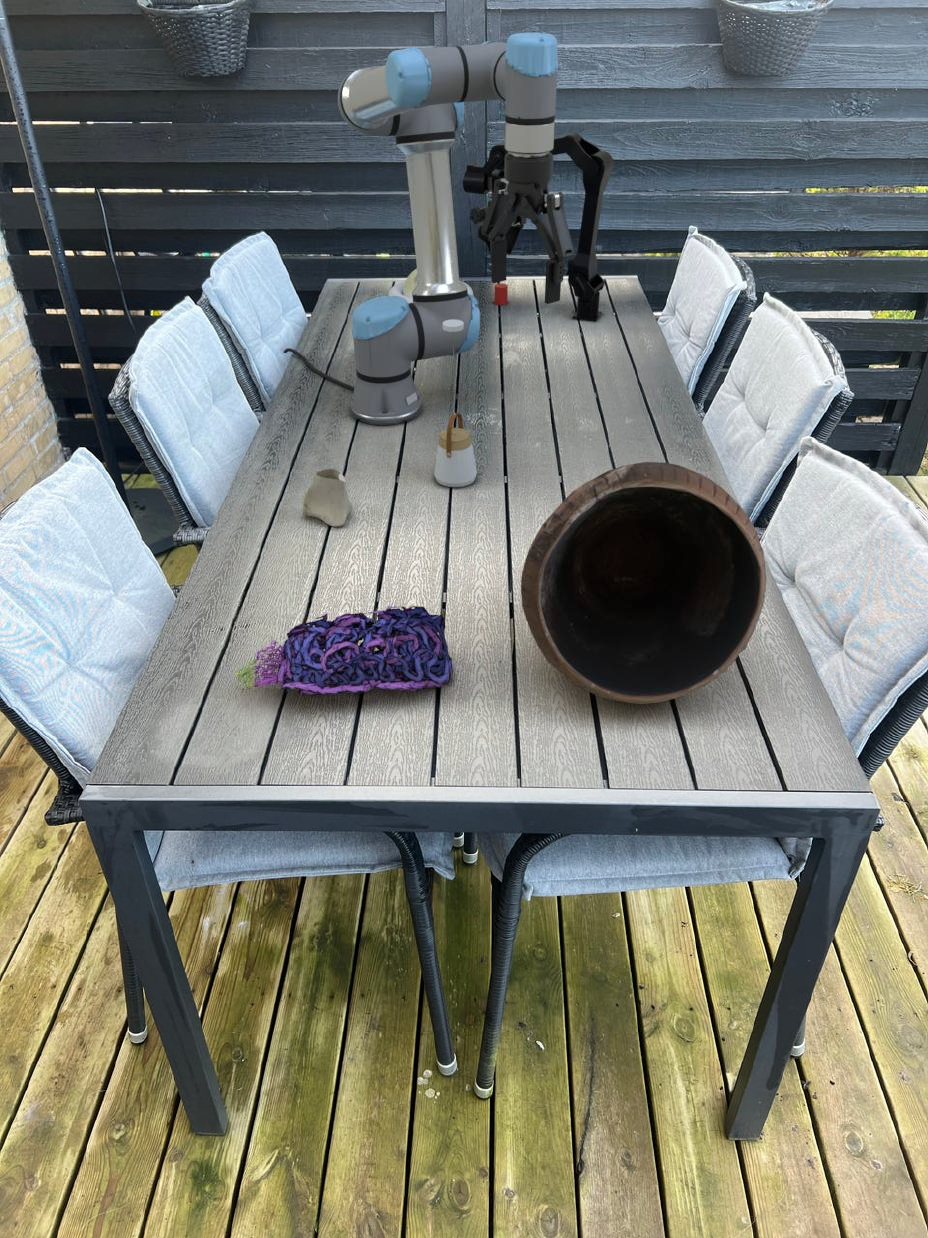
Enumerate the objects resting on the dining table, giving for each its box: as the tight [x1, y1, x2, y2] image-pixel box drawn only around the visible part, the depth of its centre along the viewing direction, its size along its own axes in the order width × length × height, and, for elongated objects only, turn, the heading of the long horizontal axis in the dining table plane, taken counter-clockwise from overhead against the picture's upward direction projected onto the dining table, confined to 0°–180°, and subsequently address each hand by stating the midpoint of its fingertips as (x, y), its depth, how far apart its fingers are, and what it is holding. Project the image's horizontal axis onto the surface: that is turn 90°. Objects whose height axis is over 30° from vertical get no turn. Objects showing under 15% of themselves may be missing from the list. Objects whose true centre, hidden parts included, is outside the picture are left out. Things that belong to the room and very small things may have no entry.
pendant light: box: [433, 319, 478, 488], centre depth 169 cm, size 8×8×30 cm
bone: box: [301, 468, 353, 528], centre depth 164 cm, size 9×8×10 cm
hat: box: [387, 268, 474, 303], centre depth 239 cm, size 25×22×15 cm
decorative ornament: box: [235, 605, 454, 697], centre depth 129 cm, size 13×11×30 cm
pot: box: [520, 461, 767, 705], centre depth 132 cm, size 32×32×30 cm
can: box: [493, 282, 509, 306], centre depth 256 cm, size 4×4×5 cm
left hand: (524, 291), depth 156 cm, fingers open, 13 cm apart
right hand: (501, 258), depth 250 cm, fingers open, 9 cm apart
